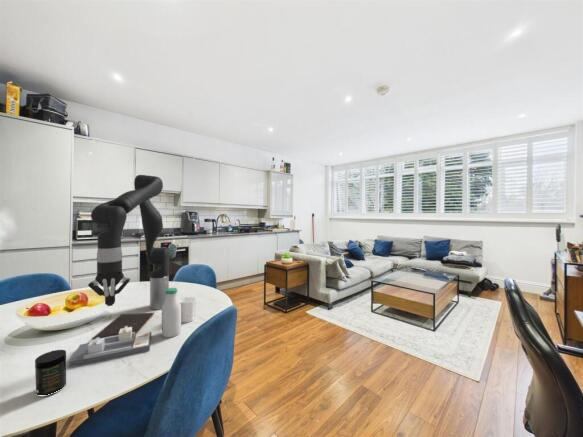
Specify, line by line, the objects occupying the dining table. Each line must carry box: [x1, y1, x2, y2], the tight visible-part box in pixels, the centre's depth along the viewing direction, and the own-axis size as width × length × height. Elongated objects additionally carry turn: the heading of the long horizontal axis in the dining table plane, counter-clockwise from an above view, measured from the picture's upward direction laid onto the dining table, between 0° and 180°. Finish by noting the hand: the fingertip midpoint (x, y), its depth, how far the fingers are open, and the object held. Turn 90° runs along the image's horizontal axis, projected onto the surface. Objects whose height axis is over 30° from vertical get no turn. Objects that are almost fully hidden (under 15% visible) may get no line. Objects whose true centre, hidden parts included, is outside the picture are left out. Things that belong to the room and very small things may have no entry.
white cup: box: [178, 296, 197, 323], centre depth 122 cm, size 8×8×10 cm
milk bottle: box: [161, 287, 182, 338], centre depth 108 cm, size 8×8×20 cm
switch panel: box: [68, 331, 152, 368], centre depth 95 cm, size 12×24×3 cm, turn 117°
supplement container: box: [34, 349, 67, 396], centre depth 74 cm, size 7×7×10 cm
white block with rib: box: [88, 337, 105, 354], centre depth 90 cm, size 4×4×4 cm
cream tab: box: [119, 326, 132, 341], centre depth 99 cm, size 4×4×4 cm
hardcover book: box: [91, 312, 155, 340], centre depth 113 cm, size 16×23×2 cm
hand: (110, 305), depth 92 cm, fingers closed
